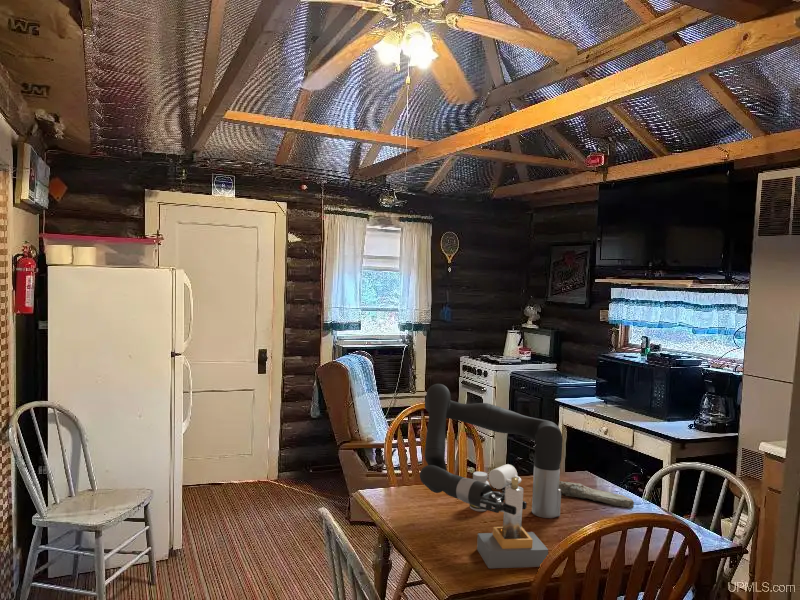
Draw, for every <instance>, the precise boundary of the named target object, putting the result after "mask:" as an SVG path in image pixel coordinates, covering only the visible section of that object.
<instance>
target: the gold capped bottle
mask: <svg viewBox="0 0 800 600" xmlns="http://www.w3.org/2000/svg"><path fill="white" fill-rule="evenodd" d="M504 490H505V500H504V505H505V504H508V505H511V506H514V507H516V514H515V515H513V514H510V513H507V512H503V522H502V527H503V538H504V539H521V526H522V522H523V521H522V520H523V509H522V506H523V501H524V488H523V487H522V486H520V485H519V484H518V478H516V477H512V479H511V485H508V486H506V487H504Z"/></svg>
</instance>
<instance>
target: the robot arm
mask: <svg viewBox="0 0 800 600" xmlns="http://www.w3.org/2000/svg"><path fill="white" fill-rule="evenodd" d="M424 408H425V410H426V412H428V422H427V423H428V424H427V430H426V436H425V446H424V459H425V462H426V464H427V465H425V466H424V467H423V468H421V470H420V472H419V479H420V482H421V483H422V484H423V485H424V486H425V487H426V488H427V489H429V491H431V492H432V493H436V494H440V493H441V492H443V493H444V494H446V495H447V496H450V497H452V498H455V499H457V500H459V501H462V502H463V503H466V504H468V505H470V504H471V505H474V506H477V507H479V508H480V509H484V510H486V511H488V512H493V513H496V514H499V513H504V512H507V513H510V514H513V515H515V514H516V507H514V506H511V505H508V504H505V505H504V501H505V489H502V490H501V492H500V491H497V490H496V491H494V489H492V488H493V487H492V485H491V484H490V485H488V484H486V483H482V482H479V481H476V480H474V479H473V478H469V477H465V476H461V475H457V474H453V473H452V472H449V471H448V470H447V464H446V459H445V457H446V425H447V424H446V423H447V419H449V420H450V419H451V420H455V421H459V422H462V423H465V424H469V425H473V426H477V427H479V428H482V429H485V430H488V431H492V432H495V433H500V434H509V435H510V434H511V435H512V434H513V435H520V436H524V437H526V438H529V439H531V440H534V441H535V449H534V450H535V451H534V458H533V460H534V461H533V482H532V498H531V501H532V503H531V513H532V514H533V515H534V516H536V517H539V518H545V519H553V518H557V517H561V506H562V505H561V501H562V494H561V490H560V489H559V481H560V478H561V477H560V475H561V474H560V472H561V462H562V456H563V455H562V454H563V453H562V452H563V440H564V438H563V433H562V431H561V428H560V427H559V426H558V425H557V424H556V423H555V422H553V421H550V420H547V419H541V418H537V417H532V416H531V417H530V416H527V415H523V414H520V413H518V412H515V411H513V410H510V409H507V408H504V407H501V406H498V405H494V404H491V403H487V402H479V403H463V402H462V403H461V402H458V401H456V400H455V401H454V400H451V392H450V390H449V388H448V387H447V386H446V385H444V384H442V383H435V384H432V385H430V387H428V389H427V391H426V394H425V399H424ZM526 509H527V502H526V501H524V500H523V506H522V510H526Z"/></svg>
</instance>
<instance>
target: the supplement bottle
mask: <svg viewBox="0 0 800 600" xmlns="http://www.w3.org/2000/svg"><path fill="white" fill-rule="evenodd" d="M472 479H473V480H476V481H479V482H482V483H486V484H488V485H490V486H491V484H490V482H489V480H488V473H487V472H485V471H473V473H472ZM469 508H470V509H471V510H473V511H475V512H486V511H487V510H484V509H480V508H479V507H477V506H474V505H471V504H469Z"/></svg>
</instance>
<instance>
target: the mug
mask: <svg viewBox="0 0 800 600" xmlns="http://www.w3.org/2000/svg"><path fill="white" fill-rule="evenodd" d="M512 477H516V478H518V485H519V484H520V483H521V482H522V478H521V477H520V476H519V475H518V472H517V469H516V468H515V466H514V465H512V464H509V463H507V464H503V465H501V466H498V467H496V468H494V469H491V470H490V472H489V473H488V476H487V479H488V482H489V484H490V486H491V488H493V489H495V488H496V490H501V489H502V490H503V489H505V487H506V486H508V485H511V479H512Z"/></svg>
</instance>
